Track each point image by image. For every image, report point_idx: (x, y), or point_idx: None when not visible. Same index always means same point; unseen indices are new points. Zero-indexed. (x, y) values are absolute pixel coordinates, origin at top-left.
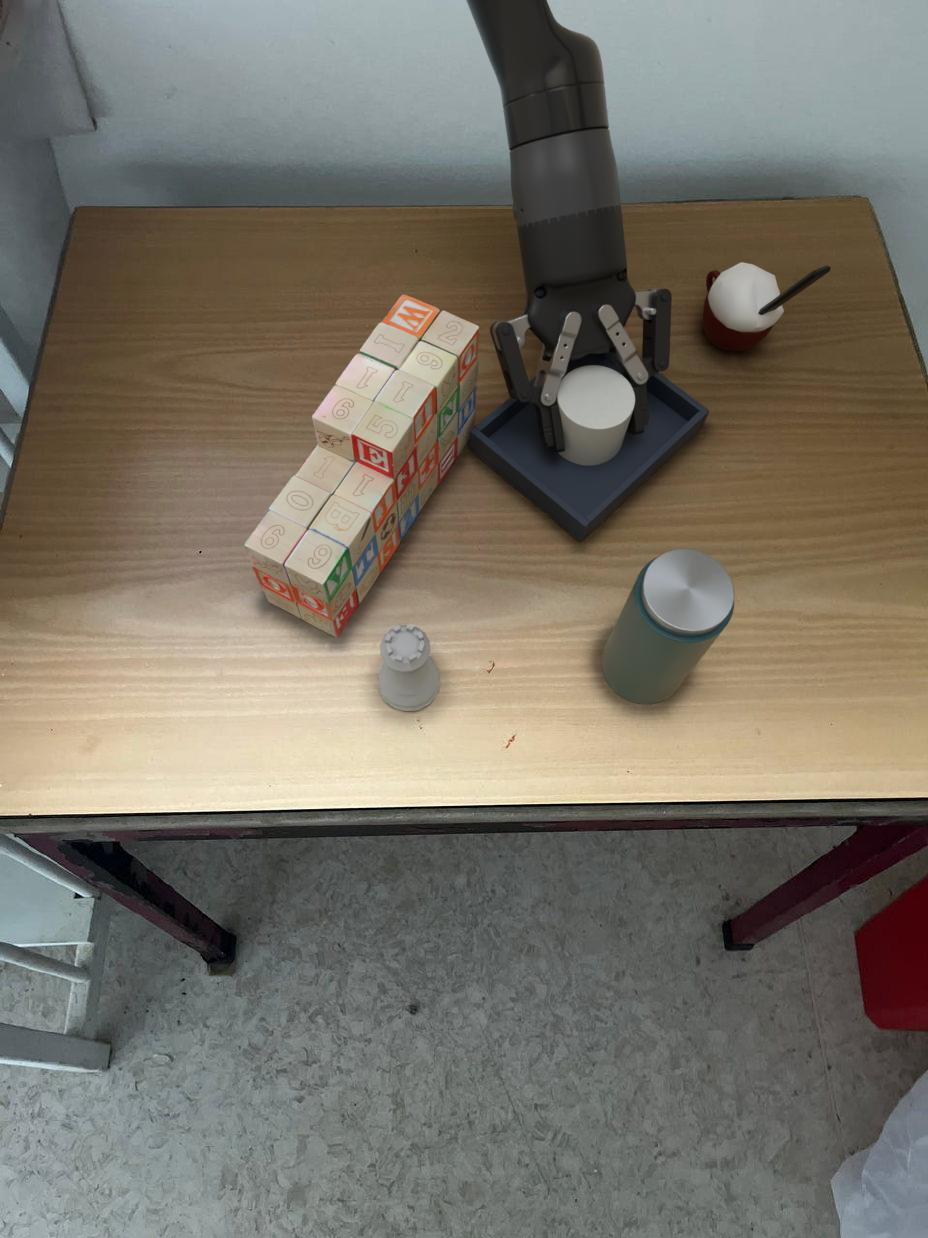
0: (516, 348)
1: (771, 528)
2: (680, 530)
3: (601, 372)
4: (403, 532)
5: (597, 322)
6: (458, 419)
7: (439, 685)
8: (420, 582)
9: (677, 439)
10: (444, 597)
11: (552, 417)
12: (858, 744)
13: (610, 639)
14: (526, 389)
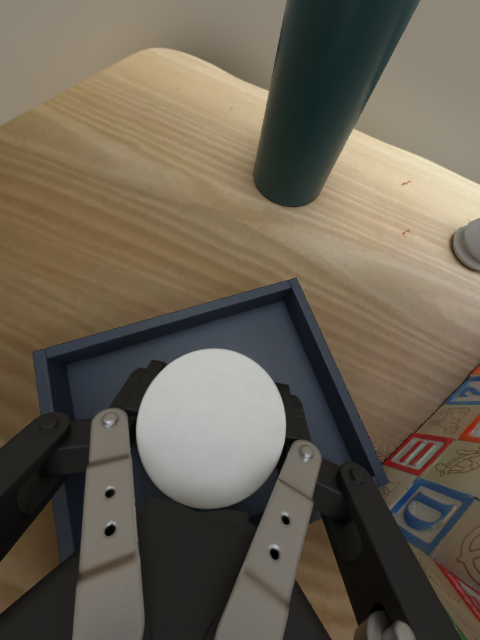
0: (410, 606)
1: (90, 218)
2: (180, 258)
3: (172, 473)
4: (467, 385)
5: (145, 606)
6: (449, 491)
7: (455, 233)
8: (450, 328)
9: (115, 329)
10: (431, 304)
11: (296, 422)
12: (170, 73)
13: (337, 157)
14: (355, 483)
